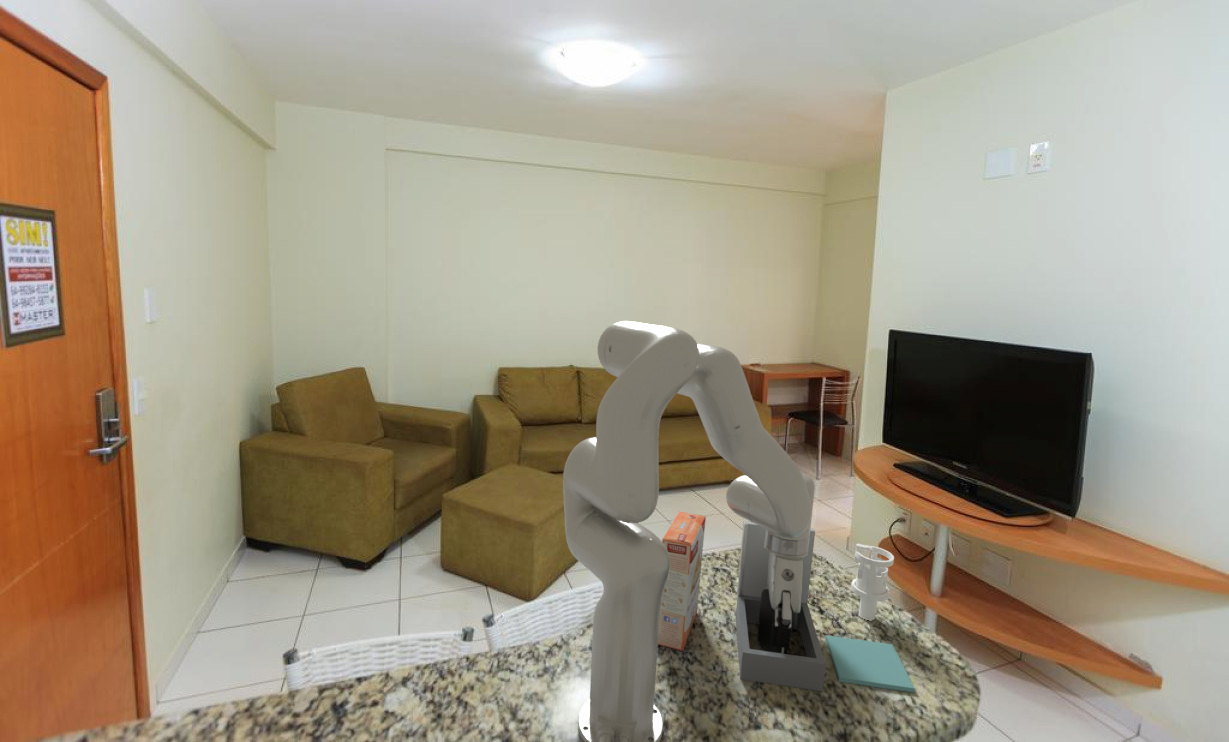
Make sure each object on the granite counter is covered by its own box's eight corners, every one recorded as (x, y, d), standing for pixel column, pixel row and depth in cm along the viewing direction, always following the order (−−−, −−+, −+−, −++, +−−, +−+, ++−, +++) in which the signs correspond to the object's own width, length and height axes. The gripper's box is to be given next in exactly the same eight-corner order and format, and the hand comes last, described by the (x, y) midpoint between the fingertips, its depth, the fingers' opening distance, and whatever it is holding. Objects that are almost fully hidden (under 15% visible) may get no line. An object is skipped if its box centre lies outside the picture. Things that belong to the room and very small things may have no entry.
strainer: (849, 603, 123) (857, 537, 120) (885, 613, 119) (894, 545, 117) (846, 620, 116) (855, 550, 114) (885, 630, 113) (894, 559, 111)
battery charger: (796, 660, 103) (802, 601, 101) (778, 664, 102) (784, 605, 100) (772, 637, 109) (778, 581, 108) (755, 641, 108) (760, 584, 106)
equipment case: (822, 691, 95) (835, 579, 92) (740, 679, 97) (750, 569, 94) (803, 623, 114) (814, 528, 111) (735, 614, 117) (743, 520, 113)
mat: (914, 692, 96) (914, 688, 96) (839, 681, 98) (839, 677, 98) (892, 648, 108) (892, 644, 108) (825, 639, 110) (825, 635, 110)
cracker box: (685, 653, 104) (693, 544, 100) (653, 645, 105) (659, 537, 102) (699, 612, 117) (707, 514, 113) (670, 605, 119) (677, 509, 115)
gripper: (817, 567, 93) (806, 666, 96) (800, 523, 110) (792, 609, 113) (769, 561, 94) (760, 660, 97) (760, 519, 111) (752, 603, 114)
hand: (777, 631), depth 105 cm, fingers closed on battery charger, 7 cm apart
